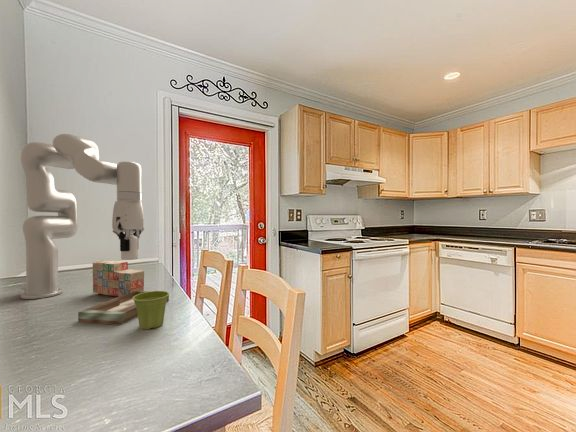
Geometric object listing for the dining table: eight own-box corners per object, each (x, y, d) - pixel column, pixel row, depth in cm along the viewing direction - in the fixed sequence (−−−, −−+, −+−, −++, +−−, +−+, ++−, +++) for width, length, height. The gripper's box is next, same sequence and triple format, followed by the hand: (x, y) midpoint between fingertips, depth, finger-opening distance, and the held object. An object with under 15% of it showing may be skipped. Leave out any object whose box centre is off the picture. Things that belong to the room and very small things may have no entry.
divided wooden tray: (78, 322, 82) (78, 311, 82) (134, 298, 106) (134, 290, 106) (120, 324, 80) (120, 314, 80) (168, 300, 104) (168, 292, 104)
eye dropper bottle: (133, 257, 101) (133, 224, 101) (138, 259, 97) (138, 224, 97) (120, 259, 98) (120, 224, 98) (124, 260, 94) (124, 225, 94)
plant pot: (155, 333, 74) (155, 300, 74) (124, 330, 76) (124, 298, 76) (175, 320, 83) (175, 291, 84) (148, 318, 85) (148, 290, 85)
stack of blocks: (144, 294, 109) (144, 262, 109) (129, 298, 103) (129, 265, 103) (107, 289, 117) (107, 259, 117) (92, 292, 111) (92, 261, 111)
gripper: (136, 199, 106) (136, 247, 106) (100, 196, 90) (100, 253, 90) (154, 199, 105) (154, 248, 105) (120, 195, 89) (120, 253, 89)
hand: (129, 249), depth 97 cm, fingers closed on eye dropper bottle, 3 cm apart
